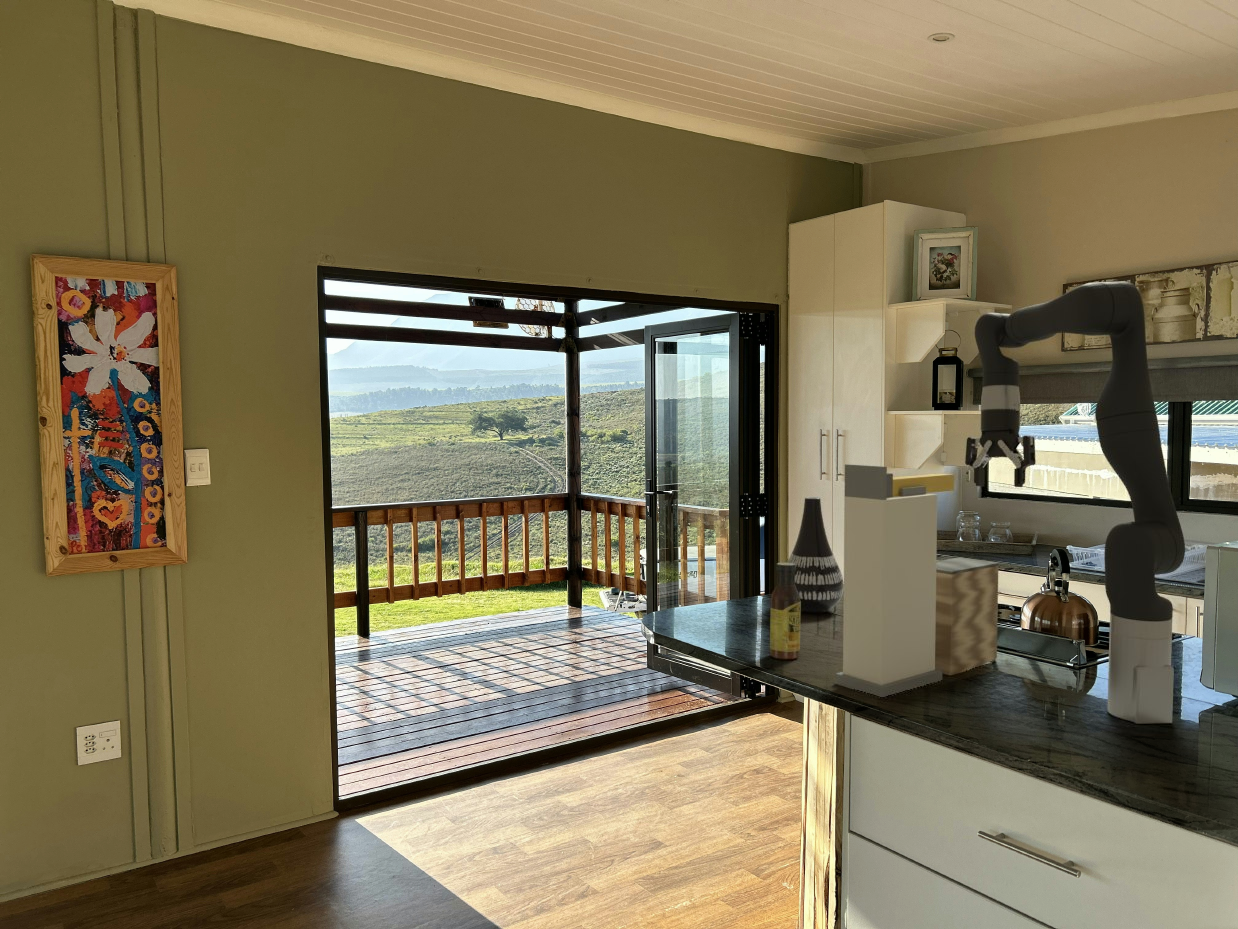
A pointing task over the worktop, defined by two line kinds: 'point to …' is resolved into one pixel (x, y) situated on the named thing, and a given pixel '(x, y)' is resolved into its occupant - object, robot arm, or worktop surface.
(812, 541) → the vase
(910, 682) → the socket tower
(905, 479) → the plug rod
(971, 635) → the block
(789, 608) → the sauce bottle
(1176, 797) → the worktop surface
